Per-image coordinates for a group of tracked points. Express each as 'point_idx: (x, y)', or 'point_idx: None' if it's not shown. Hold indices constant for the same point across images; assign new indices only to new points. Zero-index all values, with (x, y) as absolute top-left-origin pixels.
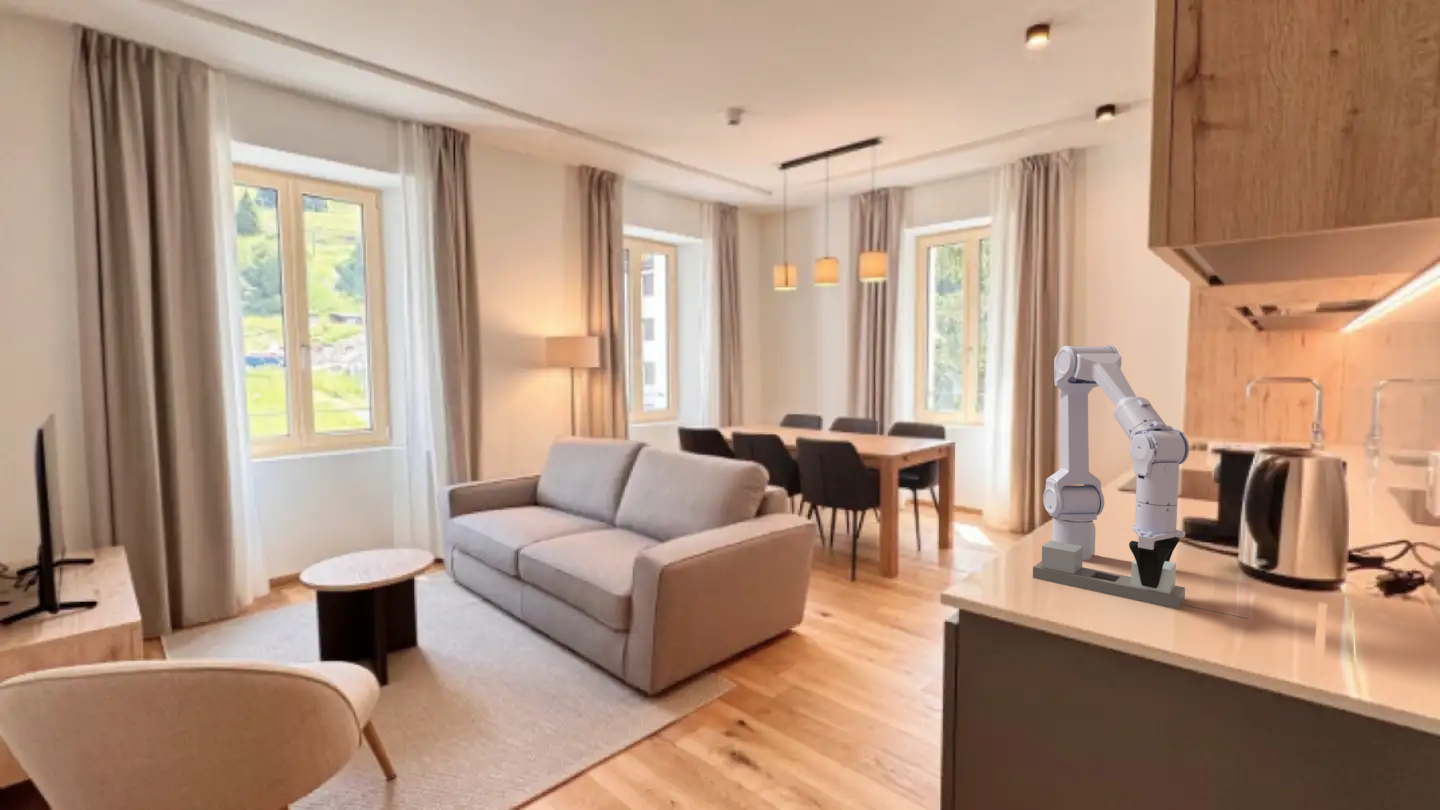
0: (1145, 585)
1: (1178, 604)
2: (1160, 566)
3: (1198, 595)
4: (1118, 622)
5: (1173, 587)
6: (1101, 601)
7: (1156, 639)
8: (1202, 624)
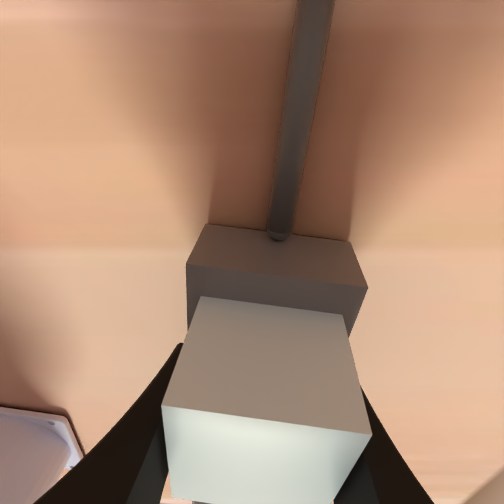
0: None
1: (358, 266)
2: (431, 501)
3: (21, 178)
4: (487, 365)
5: (243, 306)
6: None
7: None
8: (399, 162)
